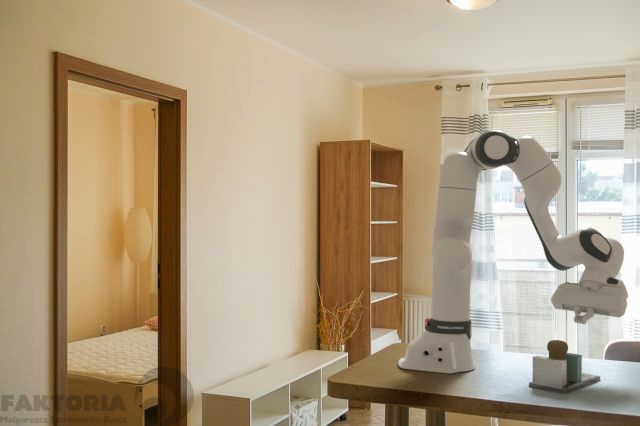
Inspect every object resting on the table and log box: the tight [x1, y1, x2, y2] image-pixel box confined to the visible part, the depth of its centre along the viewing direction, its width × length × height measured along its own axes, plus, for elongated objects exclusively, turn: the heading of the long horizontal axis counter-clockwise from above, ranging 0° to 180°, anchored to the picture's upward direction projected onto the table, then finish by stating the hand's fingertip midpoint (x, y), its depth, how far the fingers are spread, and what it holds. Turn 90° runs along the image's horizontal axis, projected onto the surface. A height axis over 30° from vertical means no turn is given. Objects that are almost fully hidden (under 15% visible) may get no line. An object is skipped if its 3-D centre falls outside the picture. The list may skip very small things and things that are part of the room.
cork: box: [546, 339, 570, 385], centre depth 174 cm, size 6×6×11 cm
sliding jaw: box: [566, 352, 583, 382], centre depth 177 cm, size 2×8×7 cm, turn 45°
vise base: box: [528, 355, 601, 395], centre depth 177 cm, size 21×10×8 cm, turn 135°
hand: (579, 322), depth 184 cm, fingers closed
